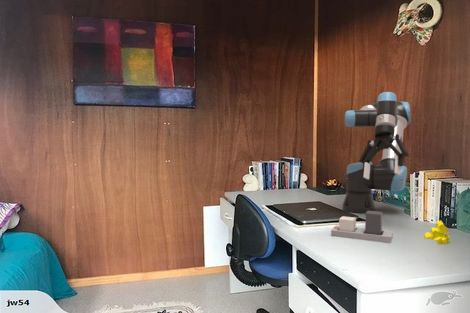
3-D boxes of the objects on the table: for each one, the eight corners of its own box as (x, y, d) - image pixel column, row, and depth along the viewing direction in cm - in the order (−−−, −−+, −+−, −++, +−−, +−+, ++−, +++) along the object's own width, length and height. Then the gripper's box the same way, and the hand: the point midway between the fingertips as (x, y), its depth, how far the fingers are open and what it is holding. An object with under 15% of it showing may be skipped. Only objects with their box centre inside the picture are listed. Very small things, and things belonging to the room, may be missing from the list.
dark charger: (367, 235, 139) (367, 210, 138) (381, 236, 137) (382, 211, 136) (365, 238, 134) (365, 213, 134) (380, 240, 132) (380, 214, 132)
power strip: (335, 233, 145) (335, 224, 145) (392, 240, 136) (392, 230, 136) (331, 239, 138) (331, 229, 138) (390, 246, 129) (391, 236, 129)
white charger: (341, 232, 143) (342, 216, 142) (355, 233, 141) (355, 217, 140) (339, 235, 138) (339, 219, 138) (353, 237, 136) (353, 220, 136)
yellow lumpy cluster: (421, 239, 138) (422, 218, 137) (444, 239, 137) (445, 218, 137) (428, 244, 132) (429, 222, 131) (452, 244, 132) (453, 222, 131)
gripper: (353, 130, 165) (348, 176, 158) (408, 116, 145) (406, 168, 138) (364, 137, 169) (360, 182, 162) (419, 124, 149) (417, 175, 142)
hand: (381, 176), depth 150 cm, fingers open, 13 cm apart
